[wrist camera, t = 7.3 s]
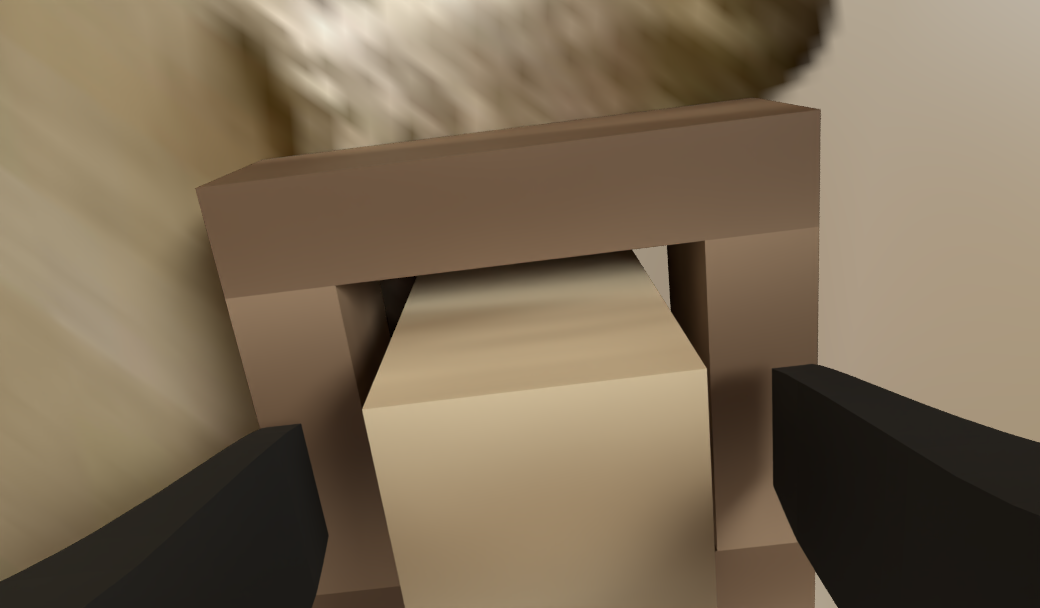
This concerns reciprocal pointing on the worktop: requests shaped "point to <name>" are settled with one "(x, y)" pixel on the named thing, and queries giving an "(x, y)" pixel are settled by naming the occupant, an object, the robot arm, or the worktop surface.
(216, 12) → the worktop surface
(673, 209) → the brown square frame
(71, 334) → the worktop surface
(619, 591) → the oak block
